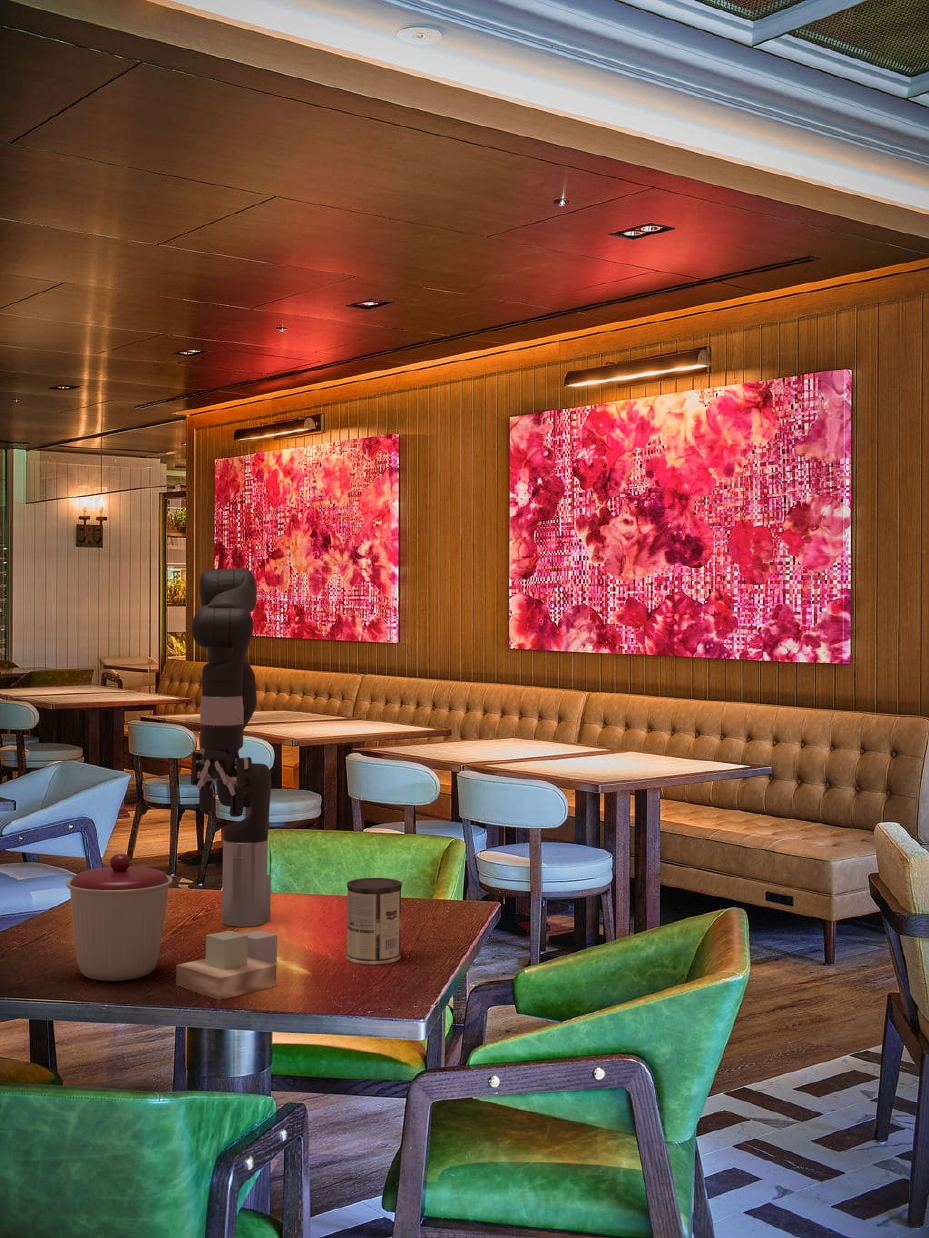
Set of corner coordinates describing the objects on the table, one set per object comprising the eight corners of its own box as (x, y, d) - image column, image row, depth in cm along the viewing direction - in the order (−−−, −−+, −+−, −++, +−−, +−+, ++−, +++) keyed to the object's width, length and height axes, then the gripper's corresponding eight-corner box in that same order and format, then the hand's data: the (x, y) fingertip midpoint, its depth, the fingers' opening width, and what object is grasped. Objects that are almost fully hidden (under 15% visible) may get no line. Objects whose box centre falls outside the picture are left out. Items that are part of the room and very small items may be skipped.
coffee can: (359, 949, 242) (360, 875, 242) (408, 954, 238) (410, 879, 239) (336, 961, 232) (337, 885, 232) (388, 967, 229) (389, 889, 229)
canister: (84, 960, 230) (86, 844, 231) (182, 962, 230) (184, 846, 230) (48, 987, 212) (51, 861, 213) (154, 989, 212) (157, 864, 212)
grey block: (259, 957, 235) (260, 930, 235) (276, 961, 232) (277, 934, 232) (238, 961, 231) (238, 934, 231) (255, 966, 228) (255, 939, 228)
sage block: (228, 959, 219) (229, 930, 219) (247, 964, 215) (247, 935, 216) (205, 964, 215) (206, 935, 215) (223, 969, 212) (224, 939, 212)
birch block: (232, 975, 223) (233, 952, 223) (276, 988, 215) (276, 964, 215) (176, 988, 214) (176, 964, 214) (219, 1002, 206) (219, 978, 206)
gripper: (264, 723, 219) (263, 816, 219) (213, 717, 229) (212, 806, 229) (230, 725, 213) (229, 821, 214) (179, 720, 223) (178, 811, 223)
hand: (220, 813), depth 221 cm, fingers open, 8 cm apart
